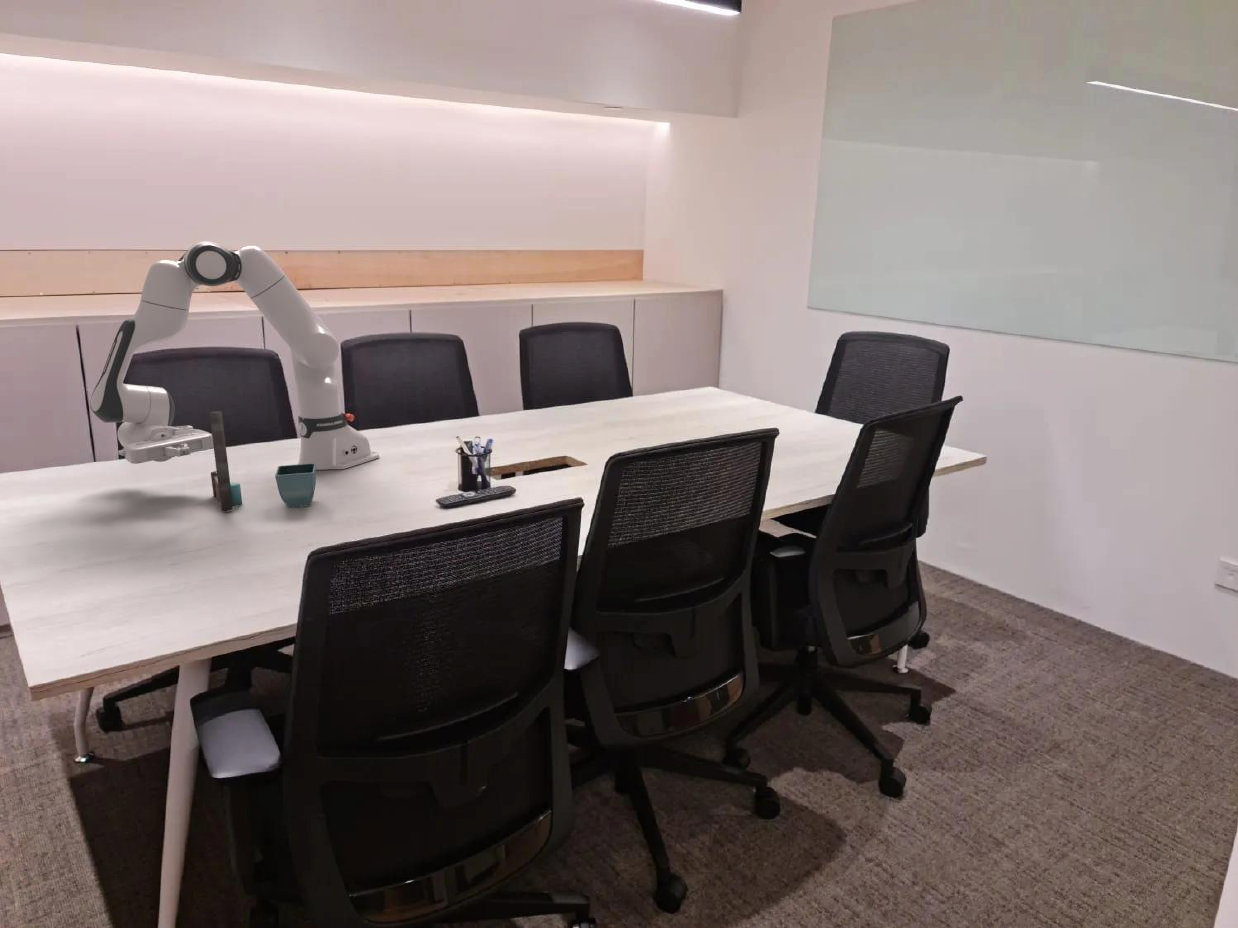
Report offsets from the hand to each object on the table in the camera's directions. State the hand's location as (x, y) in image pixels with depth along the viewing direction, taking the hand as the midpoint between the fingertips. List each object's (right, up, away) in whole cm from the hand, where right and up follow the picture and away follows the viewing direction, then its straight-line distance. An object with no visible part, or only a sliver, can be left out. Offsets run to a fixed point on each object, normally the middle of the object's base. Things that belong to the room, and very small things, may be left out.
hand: (184, 452), depth 215 cm
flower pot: (+27, -13, +1) cm, 30 cm away
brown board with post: (+9, -12, +1) cm, 15 cm away
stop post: (+12, -13, +1) cm, 17 cm away
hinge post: (+5, -11, +8) cm, 14 cm away
